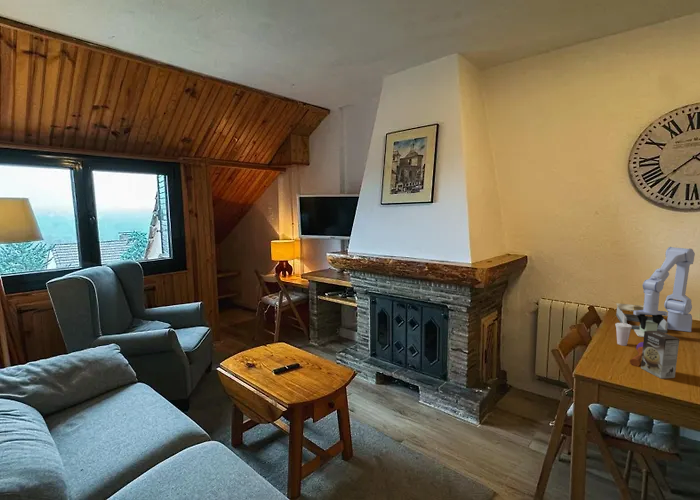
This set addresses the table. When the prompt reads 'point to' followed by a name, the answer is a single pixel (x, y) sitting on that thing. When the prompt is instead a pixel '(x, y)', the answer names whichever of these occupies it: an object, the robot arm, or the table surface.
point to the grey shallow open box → (629, 317)
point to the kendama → (637, 359)
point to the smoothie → (622, 332)
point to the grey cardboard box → (659, 354)
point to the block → (650, 326)
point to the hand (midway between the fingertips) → (648, 328)
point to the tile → (639, 333)
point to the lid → (629, 307)
